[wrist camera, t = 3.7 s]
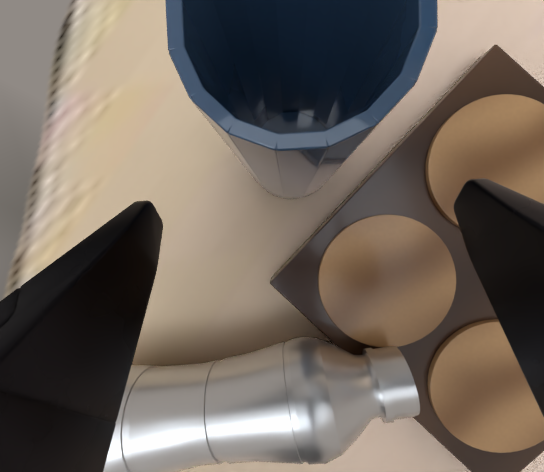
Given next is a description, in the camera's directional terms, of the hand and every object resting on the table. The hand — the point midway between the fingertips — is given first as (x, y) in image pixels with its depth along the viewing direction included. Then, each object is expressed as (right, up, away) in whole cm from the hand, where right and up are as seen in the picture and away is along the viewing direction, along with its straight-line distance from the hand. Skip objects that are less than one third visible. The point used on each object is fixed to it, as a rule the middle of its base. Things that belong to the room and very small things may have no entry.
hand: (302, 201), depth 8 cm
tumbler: (0, +5, +11) cm, 12 cm away
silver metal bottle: (-13, -13, +9) cm, 21 cm away
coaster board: (+13, -4, +10) cm, 17 cm away
